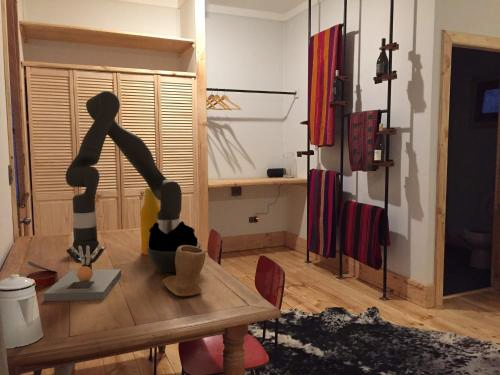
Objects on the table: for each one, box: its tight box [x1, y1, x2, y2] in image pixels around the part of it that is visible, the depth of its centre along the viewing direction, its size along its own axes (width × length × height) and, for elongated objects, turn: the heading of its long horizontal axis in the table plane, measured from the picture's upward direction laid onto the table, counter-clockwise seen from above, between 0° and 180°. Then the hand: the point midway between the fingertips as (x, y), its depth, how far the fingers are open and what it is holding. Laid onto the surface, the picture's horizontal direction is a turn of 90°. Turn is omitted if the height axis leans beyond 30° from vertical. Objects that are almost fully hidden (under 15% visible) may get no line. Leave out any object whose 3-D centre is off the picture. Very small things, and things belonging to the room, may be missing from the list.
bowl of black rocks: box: [147, 220, 201, 273], centre depth 160 cm, size 20×20×19 cm
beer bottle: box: [139, 187, 161, 256], centre depth 187 cm, size 9×9×29 cm
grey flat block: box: [43, 268, 122, 302], centre depth 143 cm, size 18×24×2 cm
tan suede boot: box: [162, 245, 206, 297], centre depth 139 cm, size 15×12×15 cm
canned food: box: [26, 260, 59, 288], centre depth 149 cm, size 11×10×10 cm
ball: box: [77, 266, 93, 281], centre depth 142 cm, size 5×5×5 cm
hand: (87, 274), depth 146 cm, fingers closed
